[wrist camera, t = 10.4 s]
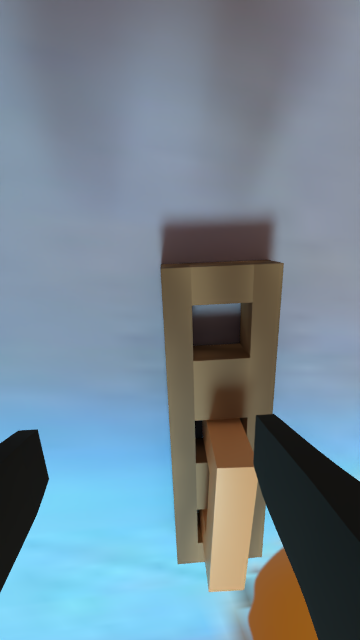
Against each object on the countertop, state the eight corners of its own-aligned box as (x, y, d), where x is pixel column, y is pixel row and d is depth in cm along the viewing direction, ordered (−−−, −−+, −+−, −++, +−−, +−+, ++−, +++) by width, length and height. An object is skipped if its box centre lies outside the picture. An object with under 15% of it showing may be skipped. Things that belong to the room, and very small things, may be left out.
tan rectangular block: (198, 506, 24) (208, 592, 18) (202, 404, 21) (217, 468, 15) (225, 505, 24) (244, 590, 18) (233, 403, 21) (259, 466, 15)
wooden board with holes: (176, 532, 25) (177, 564, 22) (161, 264, 17) (160, 268, 15) (252, 526, 25) (261, 556, 22) (267, 259, 18) (283, 263, 15)
